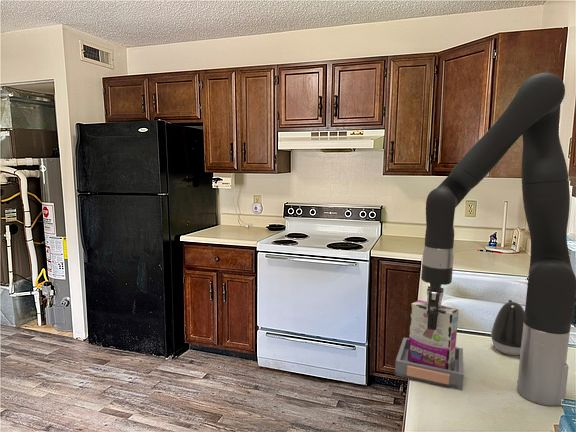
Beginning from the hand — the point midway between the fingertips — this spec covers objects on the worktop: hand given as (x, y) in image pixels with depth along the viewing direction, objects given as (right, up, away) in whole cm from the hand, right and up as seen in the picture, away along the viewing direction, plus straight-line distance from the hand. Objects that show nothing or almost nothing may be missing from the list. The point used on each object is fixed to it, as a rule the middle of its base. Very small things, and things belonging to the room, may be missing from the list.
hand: (432, 323), depth 107 cm
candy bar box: (0, -12, +1) cm, 12 cm away
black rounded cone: (+28, -12, +13) cm, 33 cm away
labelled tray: (0, -13, +1) cm, 13 cm away
